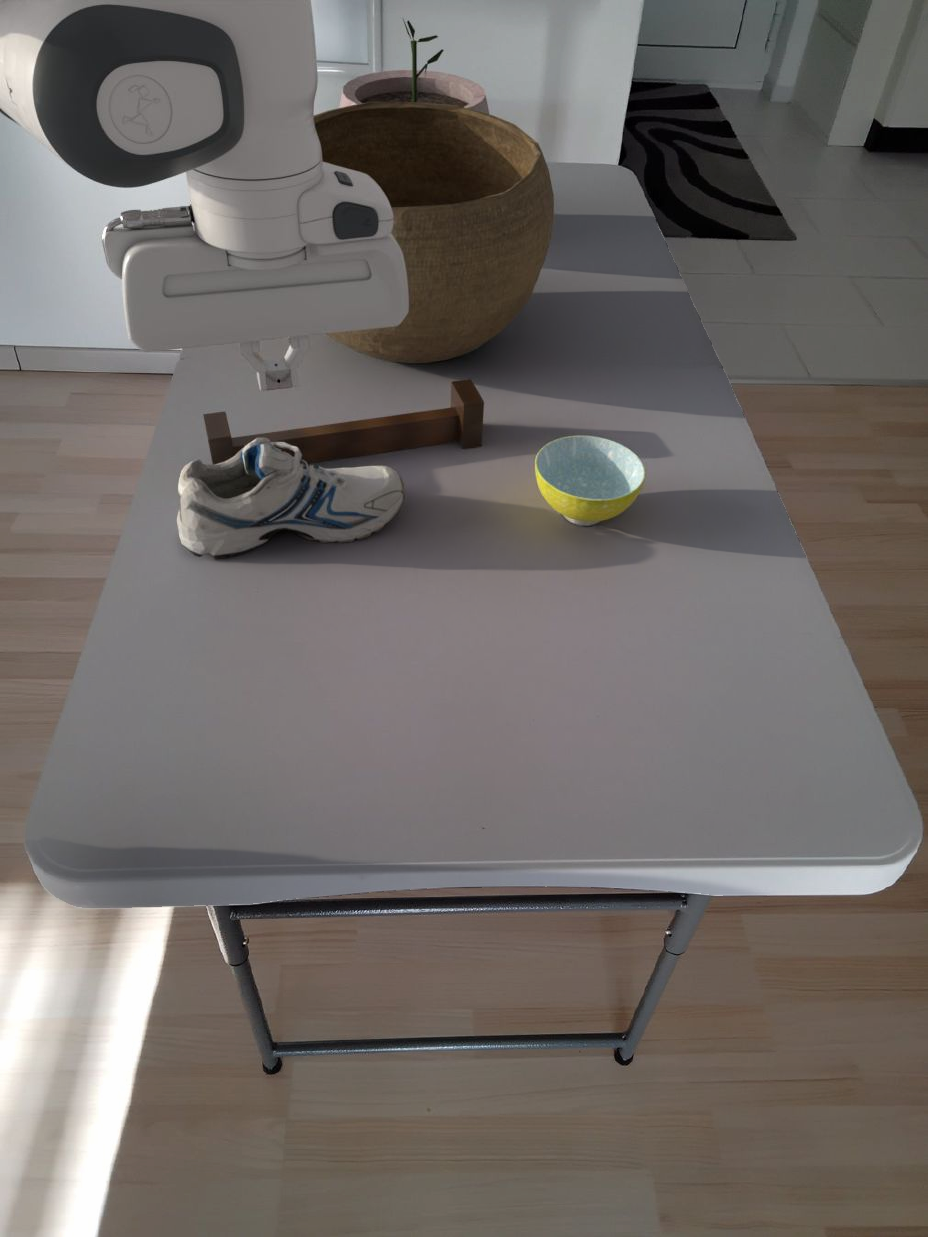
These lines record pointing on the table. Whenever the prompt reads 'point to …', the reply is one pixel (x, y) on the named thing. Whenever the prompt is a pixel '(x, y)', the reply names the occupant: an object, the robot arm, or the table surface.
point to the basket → (448, 219)
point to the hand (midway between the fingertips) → (278, 385)
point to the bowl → (588, 478)
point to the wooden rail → (366, 431)
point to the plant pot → (415, 85)
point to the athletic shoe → (280, 500)
